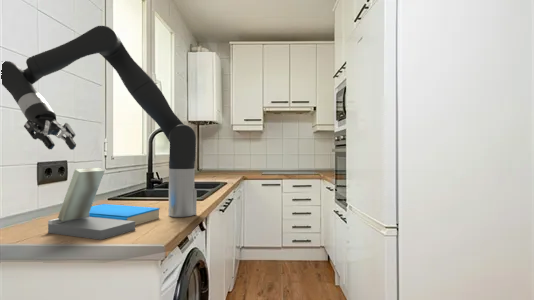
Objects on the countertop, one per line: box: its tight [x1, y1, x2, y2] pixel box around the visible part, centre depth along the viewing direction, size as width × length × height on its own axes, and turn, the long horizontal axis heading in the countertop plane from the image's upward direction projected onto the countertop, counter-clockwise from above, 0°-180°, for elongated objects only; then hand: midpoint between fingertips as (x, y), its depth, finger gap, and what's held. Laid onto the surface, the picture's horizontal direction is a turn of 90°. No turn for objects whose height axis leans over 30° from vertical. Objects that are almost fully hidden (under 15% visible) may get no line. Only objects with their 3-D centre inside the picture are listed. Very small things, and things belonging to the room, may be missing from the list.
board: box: [47, 214, 136, 241], centre depth 105 cm, size 13×20×4 cm, turn 69°
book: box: [89, 203, 161, 226], centre depth 122 cm, size 17×4×25 cm
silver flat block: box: [57, 167, 105, 221], centre depth 107 cm, size 9×16×2 cm
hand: (63, 147), depth 109 cm, fingers open, 7 cm apart
